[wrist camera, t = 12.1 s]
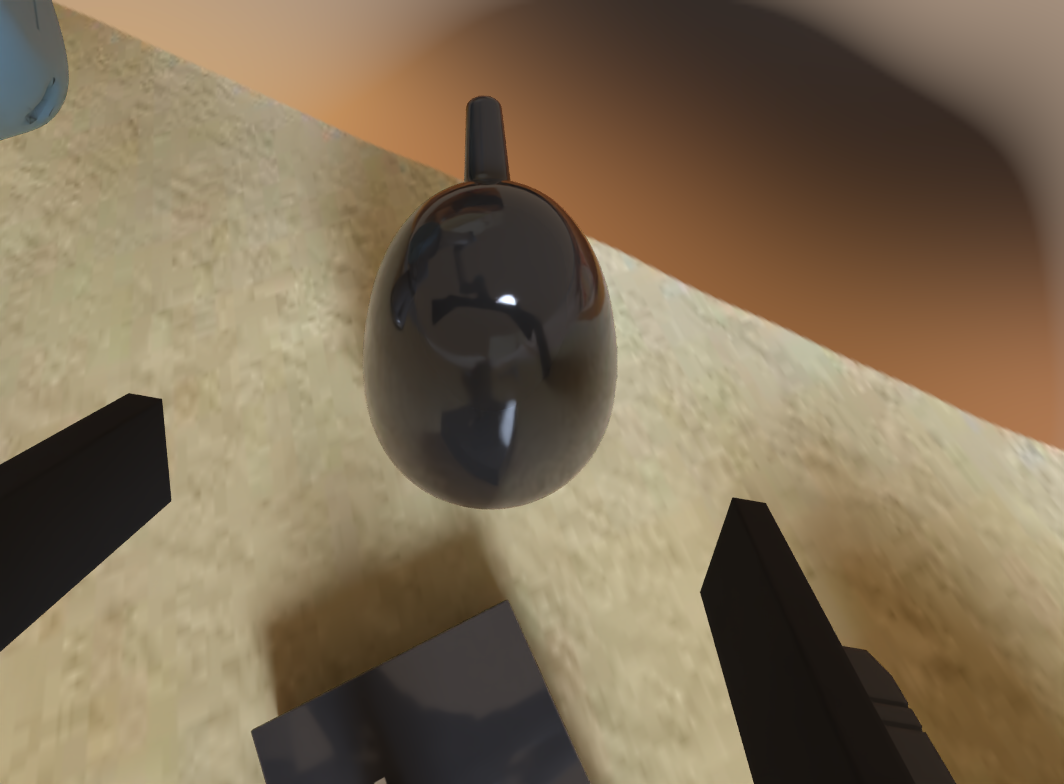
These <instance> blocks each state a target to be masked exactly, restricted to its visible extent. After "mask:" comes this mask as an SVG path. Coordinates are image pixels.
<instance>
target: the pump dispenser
mask: <svg viewBox="0 0 1064 784" xmlns="http://www.w3.org/2000/svg"><path fill="white" fill-rule="evenodd" d="M465 137H466V138H465V173H464V176H465V177H464V182H463V183H460V184H457V185H454V186H451V187H449V188H447V189H445V190H443V191H441V192H439V193H437V194H435V195H434V196H432V197H430V198H429V199H428V200H426V201H425V202H424V203H423V204H421V205H420V206H419V207H418V208H417V209H416V210H415V211H414V212H413V213H412V214H411V215H410V216H409V218H408V219H407V220H406V221H405V222H404V224H403V225H402V226H401V228H400V229H399V231H398V232H397V233H396V235H395V237H394V238H393V240H392V242H391V243H390V245H389V247H388V249H387V251H386V253H385V255H384V257H383V260H382V262H381V264H380V267H379V269H378V272H377V275H376V278H375V281H374V285H373V289H372V293H371V297H370V302H369V307H368V313H367V318H366V325H365V333H364V342H363V378H364V388H365V396H366V403H367V408H368V412H369V416H370V420H371V423H372V426H373V428H374V431H375V433H376V436H377V438H378V440H379V442H380V444H381V446H382V448H383V449H384V451H385V453H386V454H387V456H388V457H389V459H390V460H391V461H392V463H393V464H394V465H395V466H396V468H397V469H398V470H399V471H400V472H401V473H402V474H403V475H404V476H405V477H406V478H407V479H409V480H410V481H411V482H412V483H413V484H415V485H416V486H417V487H419V488H420V489H422V490H423V491H425V492H427V493H429V494H430V495H432V496H434V497H436V498H439V499H441V500H443V501H446V502H449V503H452V504H455V505H459V506H463V507H468V508H475V509H505V508H512V507H517V506H522V505H525V504H529V503H532V502H534V501H537V500H539V499H542V498H544V497H546V496H548V495H550V494H552V493H554V492H555V491H557V490H558V489H560V488H562V487H563V486H564V485H566V484H567V483H568V482H569V481H571V480H572V479H573V478H574V477H575V476H576V475H577V474H578V473H579V472H580V471H581V470H582V469H583V468H584V467H585V466H586V464H587V463H588V462H589V460H590V459H591V458H592V456H593V455H594V453H595V452H596V450H597V448H598V446H599V445H600V443H601V441H602V439H603V436H604V434H605V432H606V429H607V427H608V424H609V421H610V417H611V413H612V409H613V404H614V398H615V391H616V381H617V340H616V331H615V324H614V317H613V311H612V306H611V301H610V296H609V292H608V288H607V284H606V281H605V278H604V275H603V272H602V269H601V267H600V264H599V262H598V259H597V257H596V255H595V253H594V251H593V249H592V247H591V245H590V243H589V242H588V240H587V238H586V237H585V235H584V234H583V232H582V231H581V229H580V228H579V226H578V225H577V224H576V223H575V221H574V220H573V219H572V218H571V217H570V216H569V214H568V213H567V212H566V211H564V209H563V208H562V207H561V206H560V205H559V204H557V203H556V202H555V201H554V200H553V199H551V198H550V197H548V196H547V195H545V194H543V193H542V192H540V191H538V190H536V189H533V188H531V187H529V186H526V185H523V184H520V183H516V182H513V181H510V174H509V166H508V158H507V150H506V140H505V132H504V123H503V115H502V108H501V105H500V103H499V102H498V101H497V100H496V99H495V98H492V97H490V96H478V97H475V98H473V99H472V100H470V101H469V102H468V104H467V107H466V136H465Z"/></svg>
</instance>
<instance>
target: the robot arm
mask: <svg viewBox="0 0 1064 784" xmlns="http://www.w3.org/2000/svg"><path fill="white" fill-rule="evenodd" d="M68 83H69V74H68V61H67V55H66V49H65V45H64V41H63V36H62V33H61V29H60V26H59V22H58V19H57V16H56V13H55V9H54V6H53V3H52V0H0V140H3V139H6V138H10V137H13V136H16V135H19V134H23V133H26V132H29V131H32V130H34V129H37V128H39V127H41V126H43V125H45V124H47V123H48V122H49V121H50V120H52V119H53V118H54V117H55V115H56V114H57V113H58V112H59V110H60V108H61V106H62V105H63V103H64V100H65V98H66V95H67V90H68ZM170 502H171V491H170V480H169V469H168V459H167V448H166V437H165V426H164V415H163V404H162V399H159V398H153V397H147V396H142V395H136V394H130V393H128V394H127V395H125V396H123V397H121V398H119V399H118V400H116V401H114V402H112V403H110V404H109V405H107V406H105V407H103V408H101V409H100V410H98V411H96V412H94V413H92V414H91V415H89V416H87V417H85V418H83V419H82V420H80V421H78V422H76V423H74V424H73V425H71V426H69V427H67V428H65V429H64V430H62V431H60V432H58V433H56V434H55V435H53V436H51V437H49V438H47V439H46V440H44V441H42V442H40V443H38V444H37V445H35V446H33V447H31V448H29V449H28V450H26V451H24V452H22V453H20V454H19V455H17V456H15V457H13V458H11V459H10V460H8V461H6V462H4V463H2V464H1V465H0V652H1V651H2V650H3V649H4V648H5V647H6V646H7V645H8V644H10V643H11V642H12V641H13V640H14V639H15V638H16V637H18V636H19V635H20V634H21V633H22V632H23V631H24V630H25V629H27V628H28V627H29V626H30V625H31V624H32V623H33V622H35V621H36V620H37V619H38V618H39V617H40V616H41V615H43V614H44V613H45V612H46V611H47V610H48V609H49V608H50V607H52V606H53V605H54V604H55V603H56V602H57V601H58V600H60V599H61V598H62V597H63V596H64V595H65V594H66V593H67V592H69V591H70V590H71V589H72V588H73V587H74V586H75V585H77V584H78V583H79V582H80V581H81V580H82V579H83V578H85V577H86V576H87V575H88V574H89V573H90V572H91V571H92V570H94V569H95V568H96V567H97V566H98V565H99V564H100V563H102V562H103V561H104V560H105V559H106V558H107V557H108V556H109V555H111V554H112V553H113V552H114V551H115V550H116V549H117V548H119V547H120V546H121V545H122V544H123V543H124V542H125V541H127V540H128V539H129V538H130V537H131V536H132V535H133V534H134V533H136V532H137V531H138V530H139V529H140V528H141V527H142V526H144V525H145V524H146V523H147V522H148V521H149V520H150V519H151V518H153V517H154V516H155V515H156V514H157V513H158V512H159V511H161V510H162V509H163V508H164V507H165V506H166V505H167V504H169V503H170ZM700 593H701V597H702V600H703V604H704V607H705V611H706V615H707V618H708V622H709V625H710V629H711V632H712V636H713V640H714V643H715V647H716V650H717V654H718V657H719V661H720V664H721V668H722V672H723V675H724V679H725V682H726V686H727V689H728V693H729V697H730V700H731V704H732V707H733V711H734V714H735V718H736V721H737V725H738V729H739V732H740V736H741V739H742V743H743V746H744V750H745V754H746V757H747V761H748V764H749V768H750V771H751V775H752V778H753V782H754V784H956V783H955V781H954V779H953V778H952V776H951V774H950V772H949V771H948V769H947V767H946V766H945V764H944V762H943V761H942V759H941V757H940V756H939V754H938V752H937V751H936V749H935V747H934V746H933V744H932V742H931V741H930V739H929V737H928V736H927V734H926V732H922V726H921V724H920V722H919V721H918V719H917V717H916V716H915V714H914V712H913V711H912V709H909V708H908V702H907V701H906V699H905V697H904V696H903V694H902V692H901V690H900V689H899V687H898V685H897V684H896V682H895V680H894V679H893V677H892V676H891V675H890V674H889V673H888V672H887V671H886V670H885V669H884V668H883V667H882V666H881V665H880V664H879V662H878V661H877V660H876V659H875V658H874V657H873V656H872V655H871V654H870V653H869V652H868V651H867V650H862V649H856V648H851V647H845V646H842V645H841V643H840V641H839V639H838V637H837V636H836V634H835V632H834V630H833V628H832V626H831V624H830V622H829V621H828V619H827V617H826V615H825V613H824V611H823V609H822V607H821V606H820V604H819V602H818V600H817V598H816V596H815V594H814V592H813V591H812V589H811V587H810V585H809V583H808V581H807V579H806V577H805V576H804V574H803V572H802V570H801V568H800V566H799V564H798V562H797V561H796V559H795V557H794V555H793V553H792V551H791V549H790V548H789V546H788V544H787V542H786V540H785V538H784V536H783V534H782V533H781V531H780V529H779V527H778V525H777V523H776V521H775V519H774V518H773V516H772V514H771V512H770V510H769V508H768V506H767V504H766V503H762V502H756V501H750V500H745V499H739V498H733V497H732V500H731V503H730V506H729V509H728V512H727V515H726V518H725V521H724V524H723V527H722V530H721V533H720V536H719V539H718V541H717V544H716V547H715V550H714V553H713V556H712V559H711V562H710V565H709V568H708V571H707V574H706V577H705V580H704V582H703V585H702V588H701V591H700Z"/></svg>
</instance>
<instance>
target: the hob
mask: <svg viewBox="0 0 1064 784" xmlns="http://www.w3.org/2000/svg"><path fill="white" fill-rule="evenodd" d="M251 733H252V737H253V740H254V744H255V747H256V751H257V754H258V758H259V761H260V765H261V768H262V772H263V775H264V778H265V782H266V784H591V783H590V781H589V779H588V776H587V774H586V772H585V770H584V768H583V765H582V763H581V761H580V759H579V756H578V754H577V752H576V750H575V747H574V745H573V743H572V741H571V739H570V736H569V734H568V732H567V730H566V727H565V725H564V723H563V721H562V719H561V716H560V714H559V712H558V710H557V707H556V705H555V703H554V701H553V699H552V696H551V694H550V692H549V690H548V687H547V685H546V683H545V681H544V679H543V676H542V674H541V672H540V670H539V667H538V665H537V663H536V661H535V658H534V656H533V654H532V652H531V650H530V647H529V645H528V643H527V641H526V638H525V636H524V634H523V632H522V630H521V627H520V625H519V623H518V621H517V618H516V616H515V614H514V612H513V610H512V607H511V605H510V603H509V601H508V600H505V601H503V602H501V603H499V604H497V605H495V606H493V607H491V608H489V609H487V610H485V611H483V612H481V613H479V614H477V615H475V616H473V617H472V618H470V619H468V620H466V621H464V622H462V623H460V624H458V625H456V626H454V627H452V628H450V629H448V630H446V631H444V632H442V633H440V634H438V635H436V636H434V637H432V638H430V639H429V640H427V641H425V642H423V643H421V644H419V645H417V646H415V647H413V648H411V649H409V650H407V651H405V652H403V653H401V654H399V655H397V656H395V657H393V658H391V659H389V660H387V661H386V662H384V663H382V664H380V665H378V666H376V667H374V668H372V669H370V670H368V671H366V672H364V673H362V674H360V675H358V676H356V677H354V678H352V679H350V680H348V681H346V682H344V683H343V684H341V685H339V686H337V687H335V688H333V689H331V690H329V691H327V692H325V693H323V694H321V695H319V696H317V697H315V698H313V699H311V700H309V701H307V702H305V703H303V704H301V705H300V706H298V707H296V708H294V709H292V710H290V711H288V712H286V713H284V714H282V715H280V716H278V717H276V718H274V719H272V720H270V721H268V722H266V723H264V724H262V725H260V726H258V727H257V728H255V729H253V730H252V731H251Z"/></svg>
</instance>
